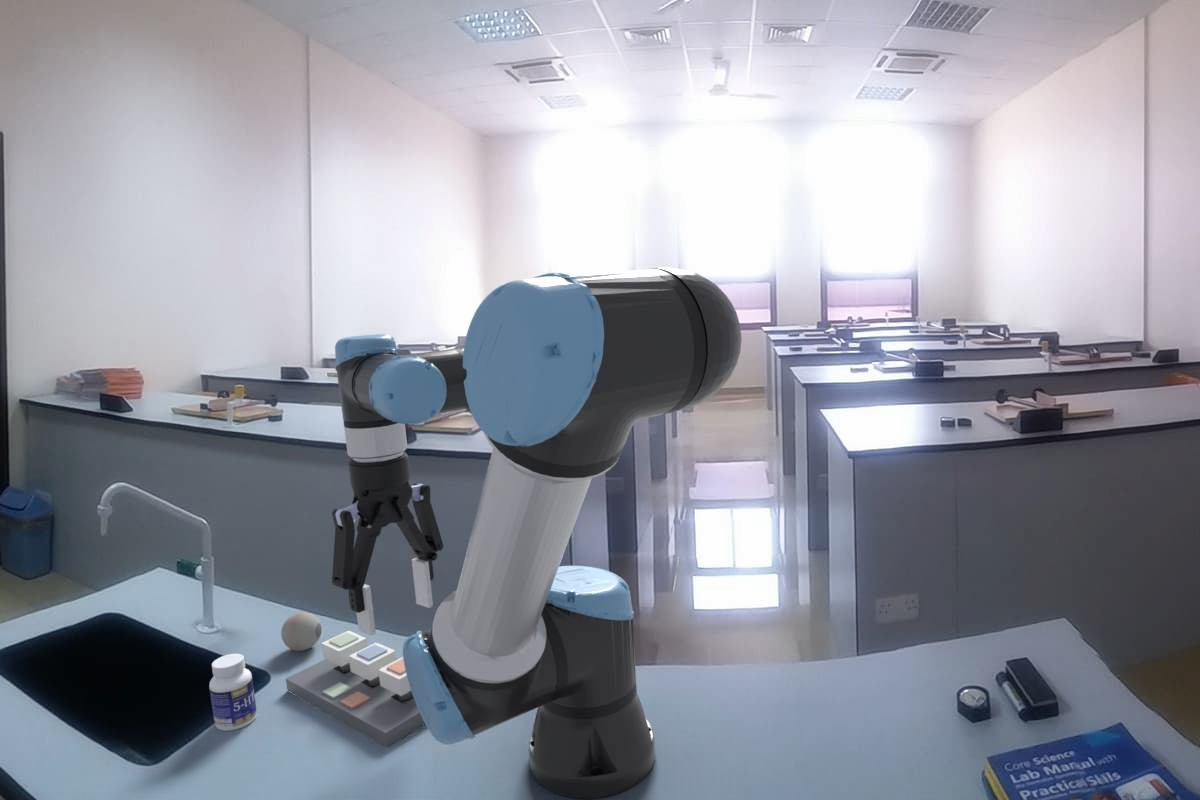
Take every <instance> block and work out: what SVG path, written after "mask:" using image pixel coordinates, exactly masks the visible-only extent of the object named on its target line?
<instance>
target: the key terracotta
mask: <svg viewBox="0 0 1200 800" xmlns="http://www.w3.org/2000/svg"><path fill="white" fill-rule="evenodd" d="M379 679H380V686H382V687H384V688H386V689H388V690H390V691H392V692H394V693H396V694H398V696H399V700H402V701H406V700H409V699H411V698H412V697H413V694H412V691H411V688H410V685H409V682H408V678H407V674H406V670H405V666H404V660H403V656H402V657H400V658H397V660H396V661H394V662H392V663H390V664H388V665H386V666H385V667H383V668H381V669H379ZM409 701H410V700H409Z"/></svg>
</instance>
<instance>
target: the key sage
mask: <svg viewBox="0 0 1200 800" xmlns="http://www.w3.org/2000/svg"><path fill="white" fill-rule="evenodd" d="M368 646H369V645H368V639H367V637H364V636H363V635H360V634H357V633H355V632H353V631H351V630H346V631H345V632H342V633H341V634H338V635H336V636H334V637H331V638H330V639H327V640H325V641H323V642H321V651H322V657H323V660H325V659H326V660H328V661H330V662H332V663H334V664H336V665H338V666H340V670H341V671H343V672H347V671H351V670H350V662H349V656H350V655H352V654H354V653H356V652H358V651H360V650H362V649H364V648H366V647H368Z"/></svg>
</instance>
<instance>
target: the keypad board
mask: <svg viewBox="0 0 1200 800" xmlns="http://www.w3.org/2000/svg"><path fill="white" fill-rule="evenodd" d="M285 682H286V691H287V690H288V691H290V692H292V693H293V694H295V695H297V696H298V697H297V696H296V697H297V698H299V697H300V698H302V699H303V700H302V699H301V700H302V701H304V700H305V701H304V702H306V701H307V702H306V703H308V702H309V703H310V704H309V703H308V704H309V705H311V704H312V706H313V707H315V708H317V709H318V710H320V711H322V712H323V713H325V714H327V715H329V716H331V717H333V718H334V719H336V720H338V721H340V722H342V723H344V724H345V725H347V726H349V727H350V728H352V729H354V730H356V731H357V732H360V733H361V734H363V735H364V736H366V737H368V738H369V739H371V740H373V741H375V742H377V743H379V744H381V745H382V746H384V747H385V748H389V747H390V746H392V745H393V744H395V743H396V742H398V741H399V740H401V739H403V738H404V737H406V736H408V735H410V734H412V733H414V731H416V730H418V729H420V728H421V727H422V726H424V725H425V723H424V721H423V719H422V717H421V714H420V712H419V710H418V707H417V705H416V702H415V700H414V697H412V698H411V699H409V700H406V701H402V700H399V696H398V694H396V693H394V692H392V691H390V690H388V689H386V688H384V687H382V686H380V684H379V685H375V686H371V685H369V684H368V680H367V679H365V678H363V677H361V676H359V675H357V674H355V673H353V672H351V671H347V672H343V671H341V670H340V666H338V665H336V664H334V663H332V662H330V661H328V660H326V659H323V660H321V661H319V662H317V663H316V664H313V665H310V666H309V667H307V668H305V669H302V670H301V671H299V672H296V673H294V674H292V675H290V676H287V677H286V678H285ZM288 691H287V692H288ZM290 692H289V693H290ZM292 693H291V694H292ZM293 694H292V695H293ZM295 695H294V696H295ZM300 698H299V699H300Z"/></svg>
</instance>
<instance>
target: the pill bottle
mask: <svg viewBox="0 0 1200 800" xmlns="http://www.w3.org/2000/svg"><path fill="white" fill-rule="evenodd" d="M211 670H212V675H213V676H212V678H211V679H210V681H209V686H208V687H209V693H210V701H211V707H212V713H213V720H214V725H215V728H217V730H220V731H225V732H229V731H234V730H235V731H236V730H239V729H241V728H244V727H246V726H248V725H249V724H251V723H252V722H253V721H254V720H256V718H257V715H258V710H257V702H256V696H255V695H256V694H255V690H254V683H253V682H254V681H253V674H252V672H251V671H250V670H249V669H248V668H246V661H245V657H244V655H243V654H240V653H229V654H226V655H222V656H220V657H218V658H217V659H214V660H213V662H212V663H211Z"/></svg>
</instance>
